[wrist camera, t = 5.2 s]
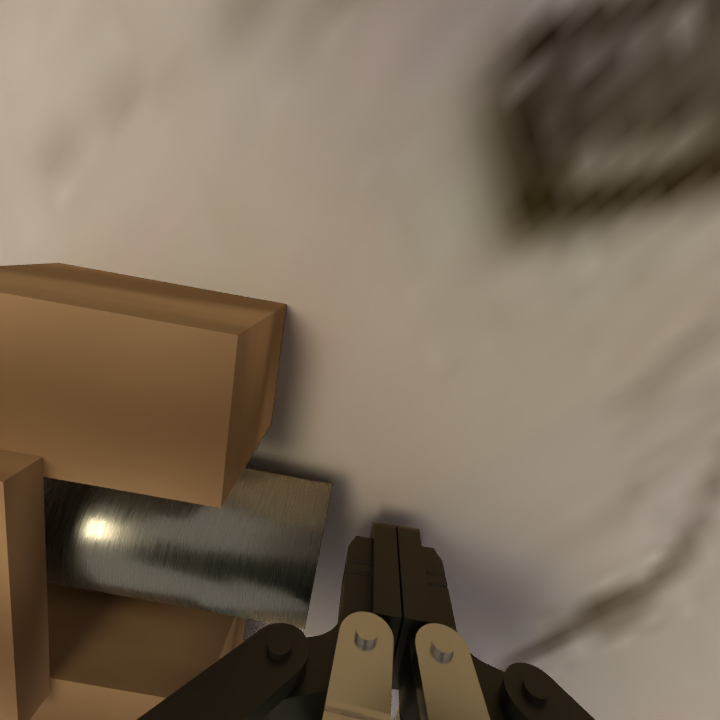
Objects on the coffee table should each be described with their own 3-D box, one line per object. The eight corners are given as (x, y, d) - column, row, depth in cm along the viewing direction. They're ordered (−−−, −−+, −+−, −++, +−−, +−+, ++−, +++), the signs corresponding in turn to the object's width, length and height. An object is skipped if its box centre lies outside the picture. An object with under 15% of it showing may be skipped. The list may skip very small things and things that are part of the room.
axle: (-70, 494, 15) (-228, 570, 11) (-70, 387, 14) (-241, 428, 10) (316, 565, 15) (297, 665, 11) (336, 462, 14) (322, 531, 10)
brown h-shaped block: (58, 262, 13) (-181, 275, 7) (286, 304, 13) (219, 347, 7) (65, 623, 16) (-89, 810, 11) (241, 654, 16) (174, 855, 11)
